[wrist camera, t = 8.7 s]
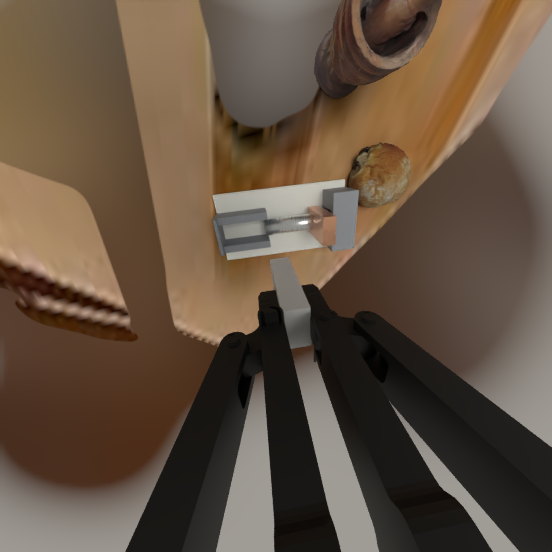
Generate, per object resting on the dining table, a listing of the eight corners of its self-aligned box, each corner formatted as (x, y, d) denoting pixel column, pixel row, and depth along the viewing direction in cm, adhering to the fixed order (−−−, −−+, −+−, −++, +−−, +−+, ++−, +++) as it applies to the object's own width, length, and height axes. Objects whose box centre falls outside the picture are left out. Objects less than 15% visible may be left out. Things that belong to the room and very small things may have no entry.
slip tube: (262, 212, 37) (266, 225, 29) (340, 202, 38) (364, 212, 30) (265, 236, 39) (270, 253, 31) (339, 226, 40) (361, 241, 32)
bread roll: (342, 202, 43) (362, 226, 38) (340, 153, 34) (365, 176, 30) (389, 181, 42) (415, 203, 37) (397, 125, 34) (433, 145, 29)
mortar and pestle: (364, -25, 26) (603, -412, 8) (398, 45, 29) (617, -130, 12) (299, 64, 29) (375, -84, 12) (336, 117, 33) (438, 64, 15)
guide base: (213, 194, 36) (206, 200, 30) (342, 178, 37) (359, 181, 31) (228, 258, 42) (224, 272, 36) (339, 242, 43) (353, 254, 37)
